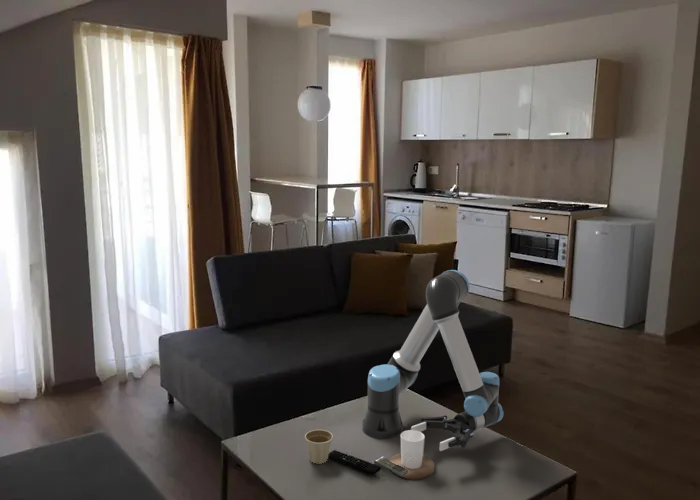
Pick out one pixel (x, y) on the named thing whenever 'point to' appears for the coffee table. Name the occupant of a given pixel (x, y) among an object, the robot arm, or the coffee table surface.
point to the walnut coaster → (417, 473)
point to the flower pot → (318, 445)
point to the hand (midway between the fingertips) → (425, 438)
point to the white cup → (412, 448)
